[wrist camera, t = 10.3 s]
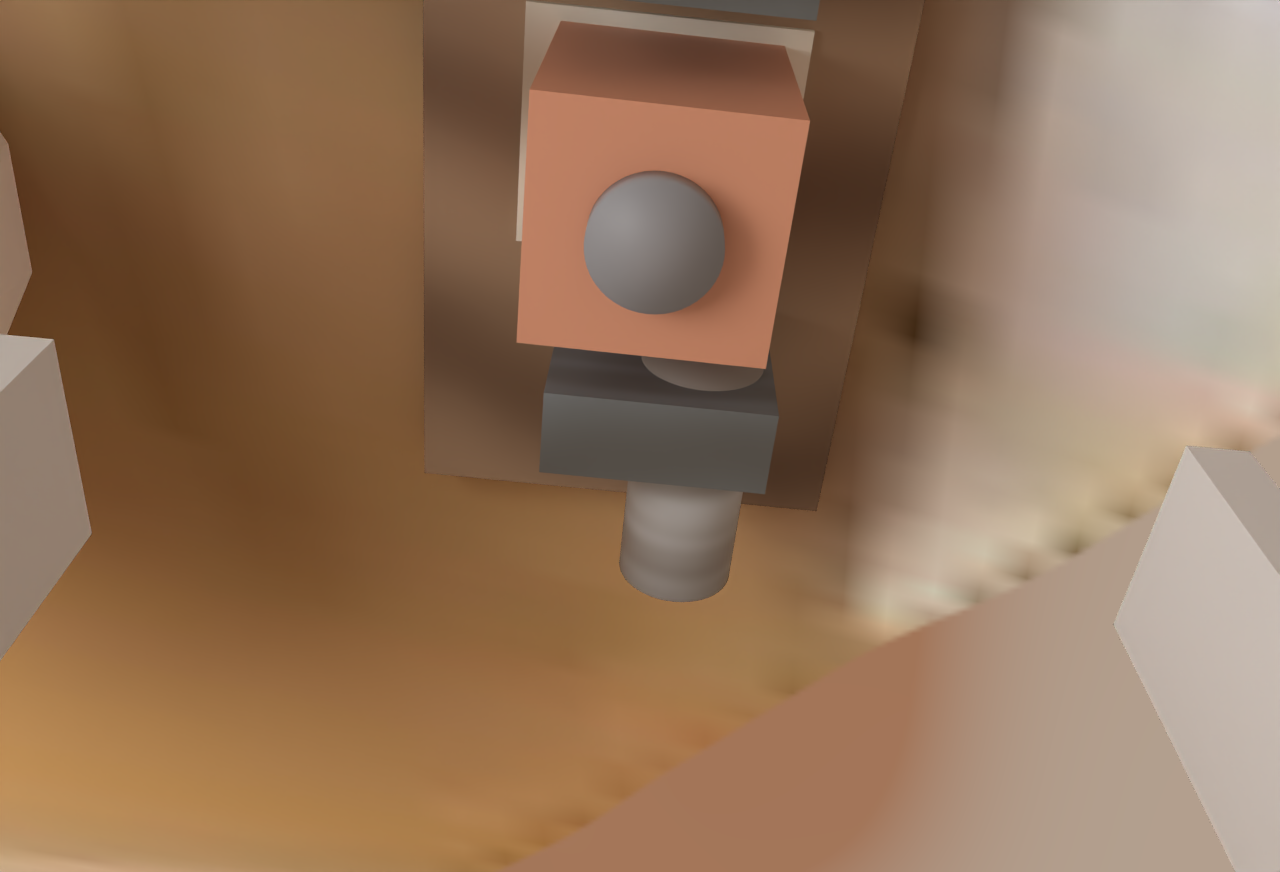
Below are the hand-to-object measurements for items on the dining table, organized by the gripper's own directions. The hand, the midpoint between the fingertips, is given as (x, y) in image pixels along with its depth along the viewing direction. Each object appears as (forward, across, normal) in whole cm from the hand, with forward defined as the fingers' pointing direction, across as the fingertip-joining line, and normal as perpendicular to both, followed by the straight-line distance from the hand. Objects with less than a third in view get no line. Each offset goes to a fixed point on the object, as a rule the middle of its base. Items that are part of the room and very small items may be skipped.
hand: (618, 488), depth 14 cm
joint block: (+15, 0, 0) cm, 15 cm away
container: (+17, -23, -4) cm, 29 cm away
